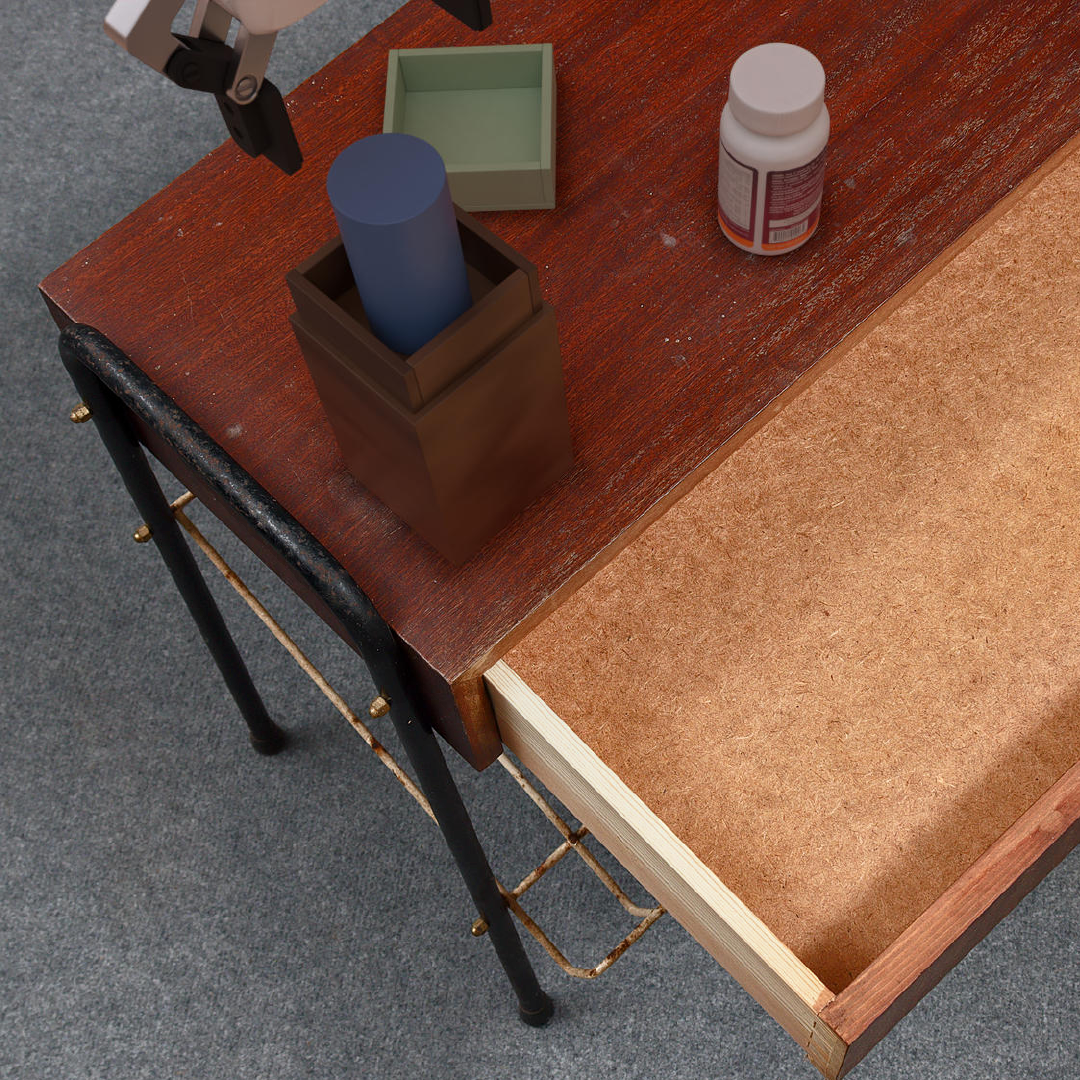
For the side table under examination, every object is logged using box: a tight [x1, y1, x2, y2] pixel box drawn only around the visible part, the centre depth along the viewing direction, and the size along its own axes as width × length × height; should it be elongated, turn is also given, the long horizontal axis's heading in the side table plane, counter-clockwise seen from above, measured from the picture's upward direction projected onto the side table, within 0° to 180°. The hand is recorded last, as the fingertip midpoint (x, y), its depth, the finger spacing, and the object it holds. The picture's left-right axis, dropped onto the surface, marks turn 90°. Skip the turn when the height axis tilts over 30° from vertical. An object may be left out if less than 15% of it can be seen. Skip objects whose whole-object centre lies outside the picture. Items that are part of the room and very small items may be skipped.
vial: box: [326, 132, 473, 355], centre depth 65 cm, size 5×5×9 cm
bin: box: [382, 42, 558, 213], centre depth 90 cm, size 10×10×4 cm
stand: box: [284, 201, 575, 569], centre depth 74 cm, size 9×9×17 cm
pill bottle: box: [717, 42, 831, 256], centre depth 83 cm, size 6×6×11 cm
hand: (369, 81), depth 56 cm, fingers open, 9 cm apart
